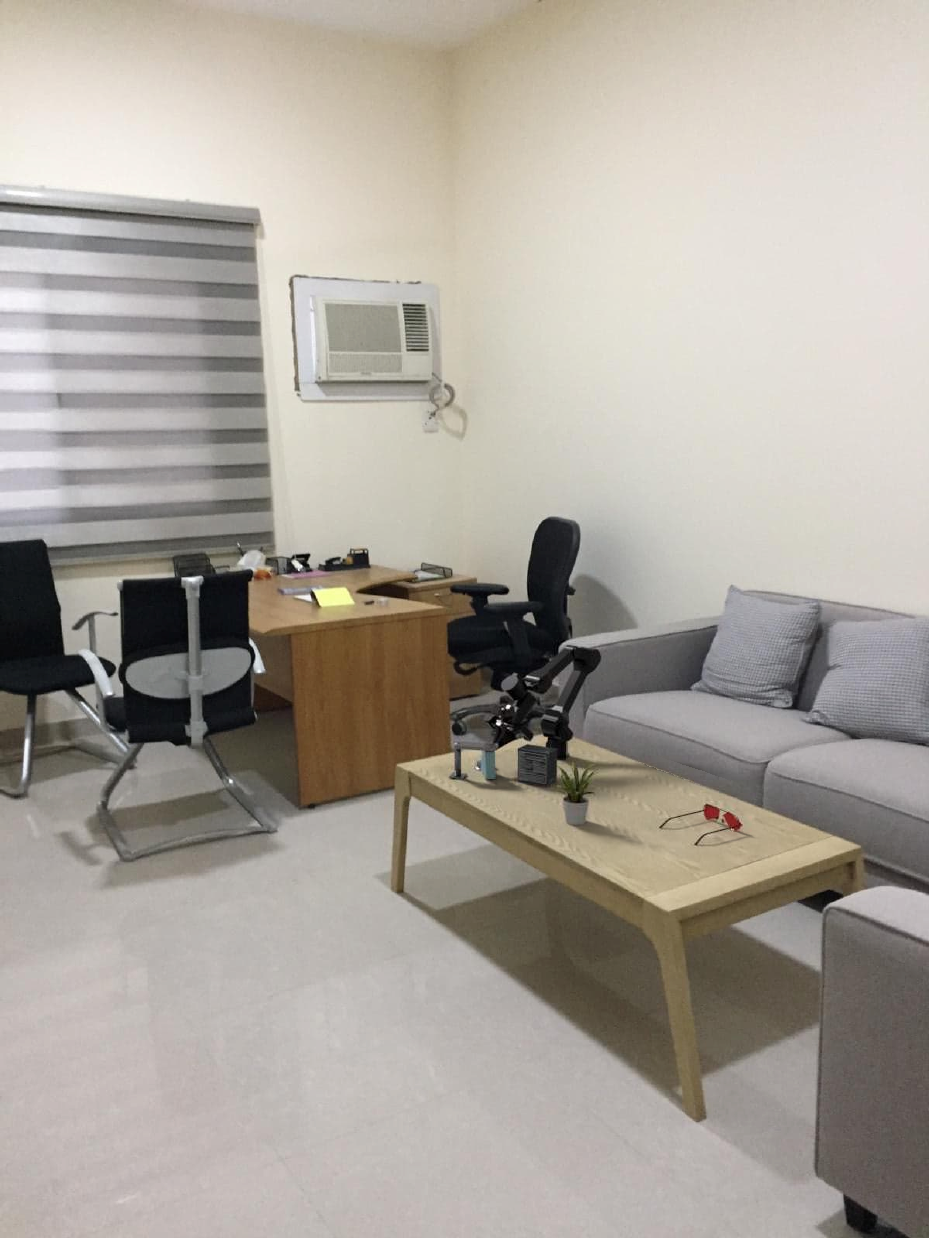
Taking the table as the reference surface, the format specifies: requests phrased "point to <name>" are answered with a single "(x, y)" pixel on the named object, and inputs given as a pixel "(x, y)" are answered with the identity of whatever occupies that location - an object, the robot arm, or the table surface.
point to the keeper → (468, 746)
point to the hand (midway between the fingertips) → (493, 749)
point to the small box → (537, 765)
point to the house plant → (576, 795)
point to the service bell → (476, 766)
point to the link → (487, 764)
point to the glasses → (713, 813)
